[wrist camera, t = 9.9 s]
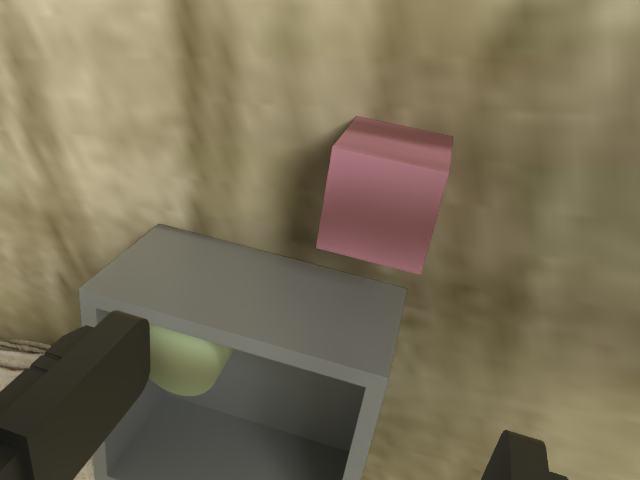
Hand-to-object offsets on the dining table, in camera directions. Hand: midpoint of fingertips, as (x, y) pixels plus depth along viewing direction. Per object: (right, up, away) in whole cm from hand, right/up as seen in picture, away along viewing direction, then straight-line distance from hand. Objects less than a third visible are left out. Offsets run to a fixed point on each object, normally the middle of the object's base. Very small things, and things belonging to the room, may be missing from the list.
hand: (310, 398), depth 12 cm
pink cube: (+4, +7, +13) cm, 15 cm away
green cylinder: (-6, 0, +19) cm, 20 cm away
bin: (-3, -3, +20) cm, 20 cm away
